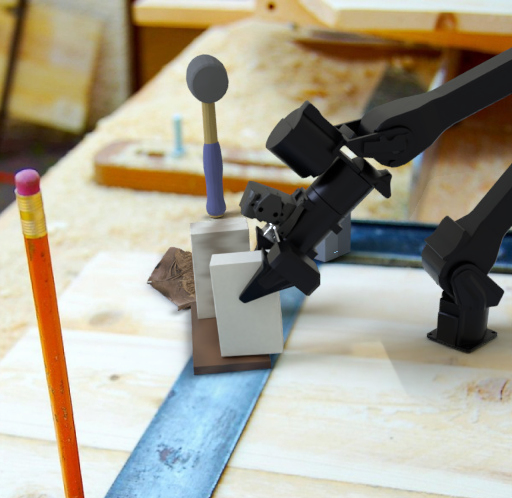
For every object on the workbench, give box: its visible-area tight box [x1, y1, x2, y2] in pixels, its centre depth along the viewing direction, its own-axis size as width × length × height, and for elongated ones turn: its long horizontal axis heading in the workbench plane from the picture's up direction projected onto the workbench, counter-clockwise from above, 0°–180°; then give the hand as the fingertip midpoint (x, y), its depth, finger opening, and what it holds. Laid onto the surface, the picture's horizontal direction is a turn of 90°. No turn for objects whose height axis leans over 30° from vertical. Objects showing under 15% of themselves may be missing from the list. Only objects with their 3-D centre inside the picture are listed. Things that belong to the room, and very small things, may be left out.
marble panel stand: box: [189, 216, 272, 376], centre depth 104 cm, size 10×19×14 cm, turn 179°
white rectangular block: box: [210, 250, 285, 357], centre depth 98 cm, size 8×4×13 cm, turn 81°
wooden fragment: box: [146, 246, 197, 312], centre depth 127 cm, size 26×11×1 cm, turn 179°
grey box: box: [313, 212, 352, 263], centre depth 128 cm, size 6×6×9 cm
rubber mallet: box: [185, 53, 230, 219], centre depth 145 cm, size 12×8×30 cm, turn 2°
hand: (240, 294), depth 97 cm, fingers closed on white rectangular block, 4 cm apart
